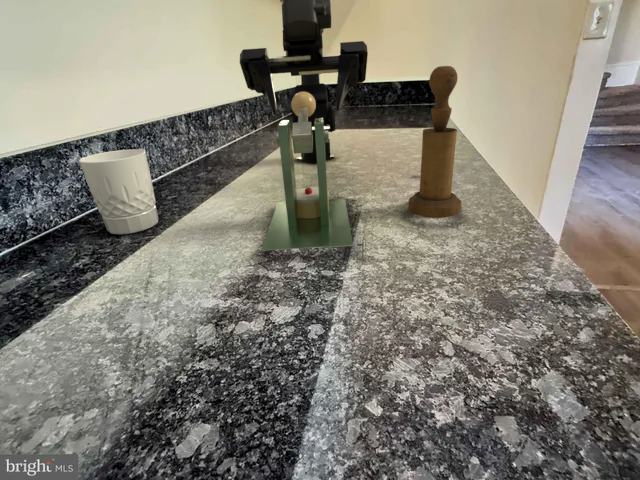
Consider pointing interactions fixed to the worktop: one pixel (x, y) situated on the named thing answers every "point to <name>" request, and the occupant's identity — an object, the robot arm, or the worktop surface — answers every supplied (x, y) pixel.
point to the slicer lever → (303, 122)
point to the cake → (308, 203)
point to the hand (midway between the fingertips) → (306, 110)
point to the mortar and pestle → (438, 154)
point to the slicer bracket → (285, 221)
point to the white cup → (122, 189)
